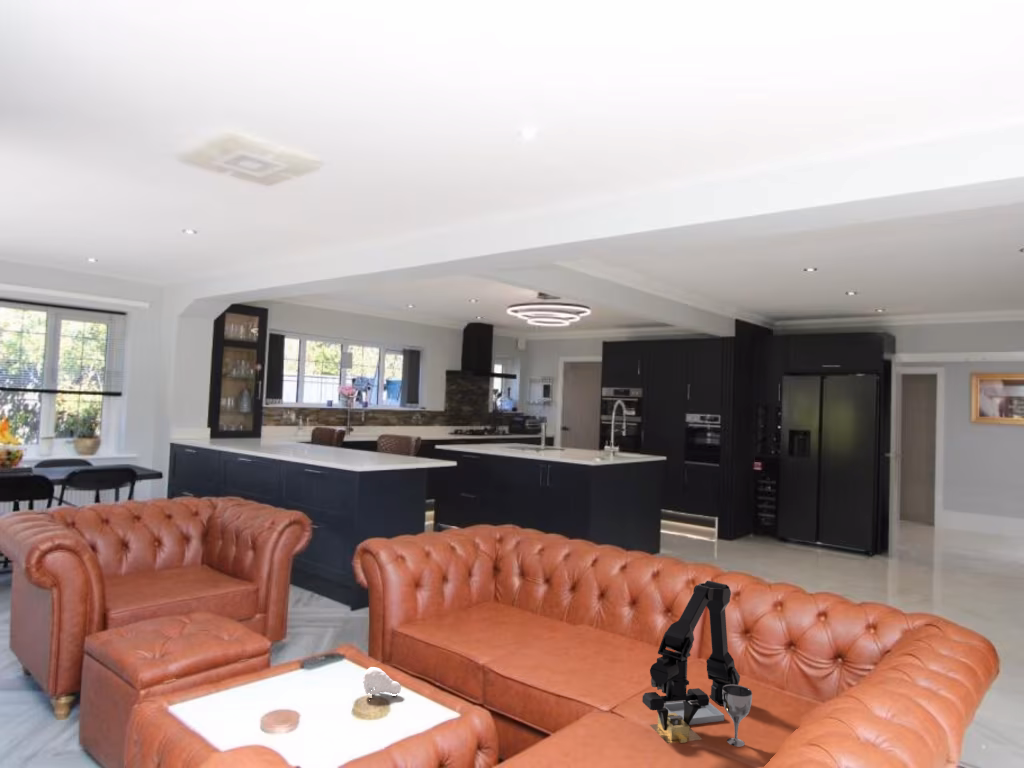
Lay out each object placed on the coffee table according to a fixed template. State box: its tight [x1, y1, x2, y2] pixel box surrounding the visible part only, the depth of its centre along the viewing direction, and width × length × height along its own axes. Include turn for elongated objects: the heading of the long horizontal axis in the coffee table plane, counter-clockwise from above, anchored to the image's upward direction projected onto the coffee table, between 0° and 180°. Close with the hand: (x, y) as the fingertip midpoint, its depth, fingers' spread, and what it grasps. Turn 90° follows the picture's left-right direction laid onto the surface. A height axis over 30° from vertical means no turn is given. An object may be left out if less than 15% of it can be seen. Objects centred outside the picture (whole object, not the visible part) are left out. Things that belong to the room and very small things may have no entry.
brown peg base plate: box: [649, 715, 703, 745], centre depth 200 cm, size 11×11×5 cm
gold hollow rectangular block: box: [657, 713, 691, 744], centre depth 199 cm, size 10×6×3 cm, turn 15°
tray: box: [666, 702, 725, 726], centre depth 211 cm, size 16×11×2 cm
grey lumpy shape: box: [362, 666, 402, 695], centre depth 219 cm, size 6×8×12 cm
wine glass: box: [722, 684, 753, 748], centre depth 195 cm, size 8×8×15 cm
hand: (674, 728), depth 200 cm, fingers open, 6 cm apart
